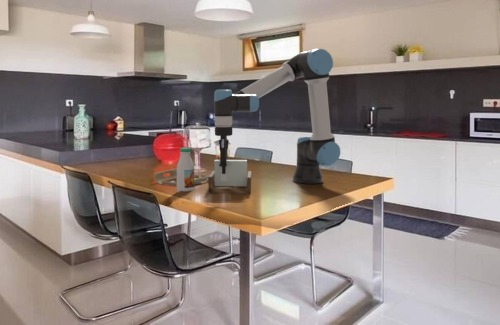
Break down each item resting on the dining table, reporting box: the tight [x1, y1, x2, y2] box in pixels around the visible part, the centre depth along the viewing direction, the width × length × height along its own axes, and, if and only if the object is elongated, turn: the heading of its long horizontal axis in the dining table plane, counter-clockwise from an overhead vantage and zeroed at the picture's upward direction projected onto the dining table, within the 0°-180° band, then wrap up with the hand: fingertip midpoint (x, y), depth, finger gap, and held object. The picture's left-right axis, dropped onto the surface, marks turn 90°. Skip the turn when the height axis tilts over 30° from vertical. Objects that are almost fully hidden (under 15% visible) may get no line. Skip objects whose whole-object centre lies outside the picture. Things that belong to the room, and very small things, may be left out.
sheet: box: [213, 159, 248, 186], centre depth 173 cm, size 14×4×11 cm, turn 90°
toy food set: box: [153, 168, 209, 187], centre depth 198 cm, size 25×18×8 cm
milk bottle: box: [176, 147, 195, 193], centre depth 175 cm, size 8×8×20 cm
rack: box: [207, 170, 252, 195], centre depth 177 cm, size 18×16×8 cm
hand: (224, 179), depth 173 cm, fingers closed on sheet, 3 cm apart
